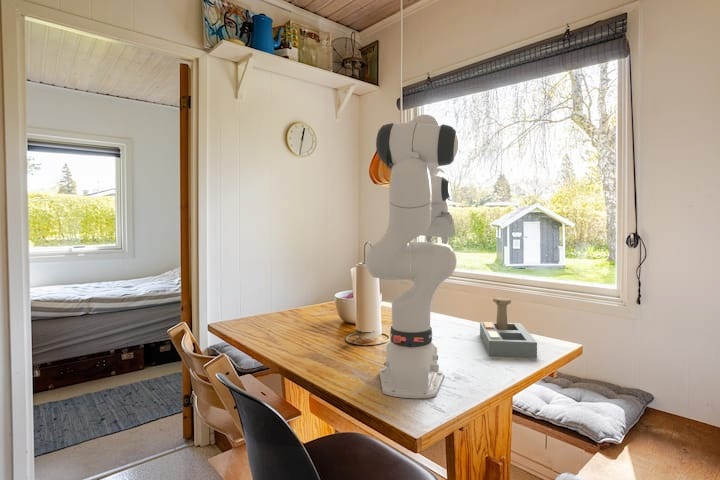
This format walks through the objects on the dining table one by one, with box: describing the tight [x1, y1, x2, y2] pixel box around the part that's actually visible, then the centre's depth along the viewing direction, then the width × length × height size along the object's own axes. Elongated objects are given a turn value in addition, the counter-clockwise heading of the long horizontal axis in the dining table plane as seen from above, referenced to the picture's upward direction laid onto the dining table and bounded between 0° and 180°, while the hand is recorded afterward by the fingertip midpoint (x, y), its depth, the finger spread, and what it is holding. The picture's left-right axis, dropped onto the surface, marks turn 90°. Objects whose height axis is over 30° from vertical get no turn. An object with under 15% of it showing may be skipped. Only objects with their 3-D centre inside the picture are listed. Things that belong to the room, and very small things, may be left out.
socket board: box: [479, 321, 538, 359], centre depth 143 cm, size 24×15×6 cm, turn 170°
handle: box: [492, 296, 512, 330], centre depth 151 cm, size 5×6×15 cm
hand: (436, 248), depth 153 cm, fingers open, 8 cm apart
